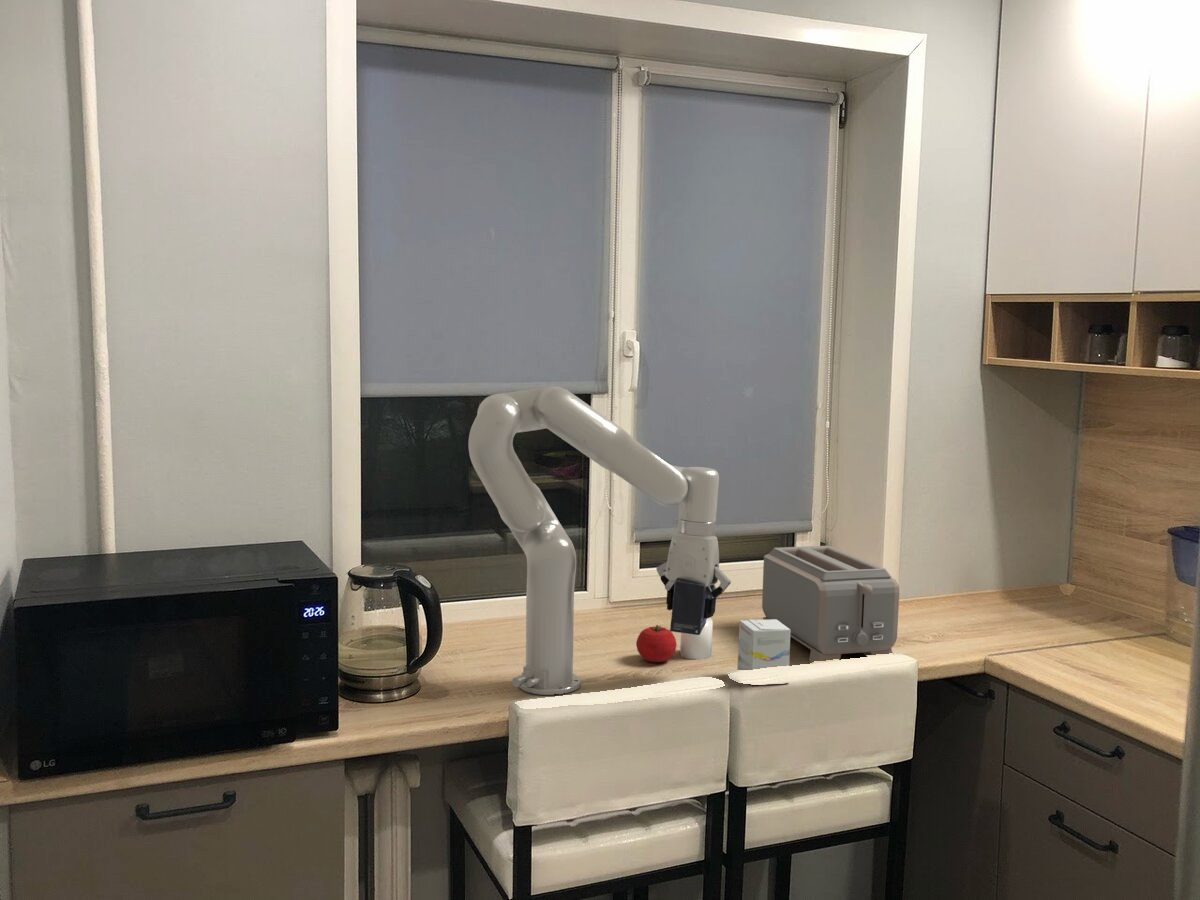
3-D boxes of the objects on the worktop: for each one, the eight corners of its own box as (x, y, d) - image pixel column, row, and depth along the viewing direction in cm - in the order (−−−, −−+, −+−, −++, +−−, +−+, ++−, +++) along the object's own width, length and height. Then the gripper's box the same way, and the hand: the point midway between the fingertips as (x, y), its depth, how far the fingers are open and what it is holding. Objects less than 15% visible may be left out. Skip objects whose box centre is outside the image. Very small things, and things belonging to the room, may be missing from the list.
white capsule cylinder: (702, 661, 221) (703, 626, 220) (674, 655, 225) (675, 620, 224) (717, 653, 227) (718, 619, 226) (689, 648, 231) (690, 613, 230)
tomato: (656, 651, 228) (657, 617, 227) (684, 661, 221) (685, 625, 220) (627, 659, 222) (628, 623, 221) (655, 669, 215) (656, 632, 214)
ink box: (789, 684, 207) (792, 628, 206) (750, 686, 206) (752, 630, 204) (774, 671, 216) (776, 617, 214) (736, 673, 214) (738, 618, 213)
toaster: (825, 672, 216) (829, 578, 214) (757, 627, 249) (760, 546, 247) (905, 666, 221) (910, 574, 219) (828, 623, 254) (832, 543, 252)
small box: (701, 636, 201) (705, 584, 200) (669, 632, 203) (673, 580, 201) (707, 623, 211) (711, 574, 210) (677, 619, 213) (680, 570, 212)
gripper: (650, 523, 207) (644, 607, 208) (726, 537, 197) (719, 625, 199) (668, 520, 213) (662, 601, 215) (743, 532, 203) (736, 618, 205)
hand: (690, 612), depth 207 cm, fingers closed on small box, 7 cm apart
